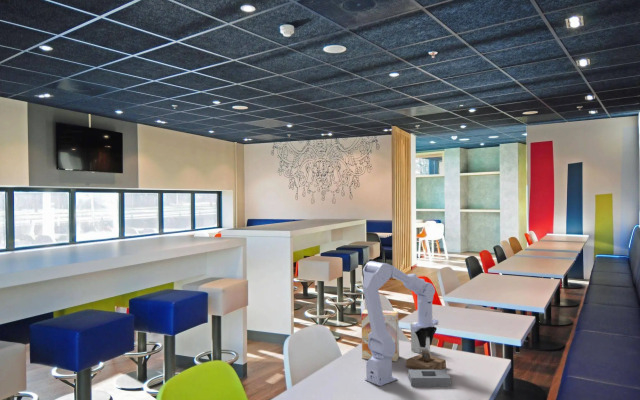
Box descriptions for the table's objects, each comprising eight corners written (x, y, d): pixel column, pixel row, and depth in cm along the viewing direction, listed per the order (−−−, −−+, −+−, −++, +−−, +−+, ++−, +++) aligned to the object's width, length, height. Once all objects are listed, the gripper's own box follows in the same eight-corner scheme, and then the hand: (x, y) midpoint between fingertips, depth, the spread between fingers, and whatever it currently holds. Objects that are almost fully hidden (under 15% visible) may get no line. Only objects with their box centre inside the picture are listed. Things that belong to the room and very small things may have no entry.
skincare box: (419, 353, 202) (418, 325, 202) (410, 350, 205) (409, 323, 205) (427, 349, 206) (426, 322, 206) (418, 347, 210) (417, 320, 209)
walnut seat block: (428, 374, 178) (428, 366, 178) (406, 366, 186) (406, 359, 186) (445, 367, 185) (445, 359, 185) (423, 360, 193) (423, 353, 193)
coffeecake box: (361, 358, 197) (360, 312, 196) (365, 353, 203) (364, 308, 203) (397, 361, 192) (396, 314, 192) (399, 356, 199) (398, 310, 199)
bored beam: (411, 386, 167) (411, 377, 167) (408, 377, 175) (408, 369, 175) (450, 386, 166) (450, 377, 166) (445, 377, 174) (445, 369, 174)
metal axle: (426, 358, 183) (426, 338, 183) (420, 356, 186) (419, 336, 186) (431, 357, 185) (431, 337, 185) (425, 355, 188) (424, 335, 188)
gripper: (421, 317, 178) (422, 352, 178) (444, 310, 187) (445, 344, 187) (407, 313, 183) (407, 348, 183) (430, 307, 192) (430, 340, 192)
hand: (425, 345), depth 185 cm, fingers closed on metal axle, 3 cm apart
